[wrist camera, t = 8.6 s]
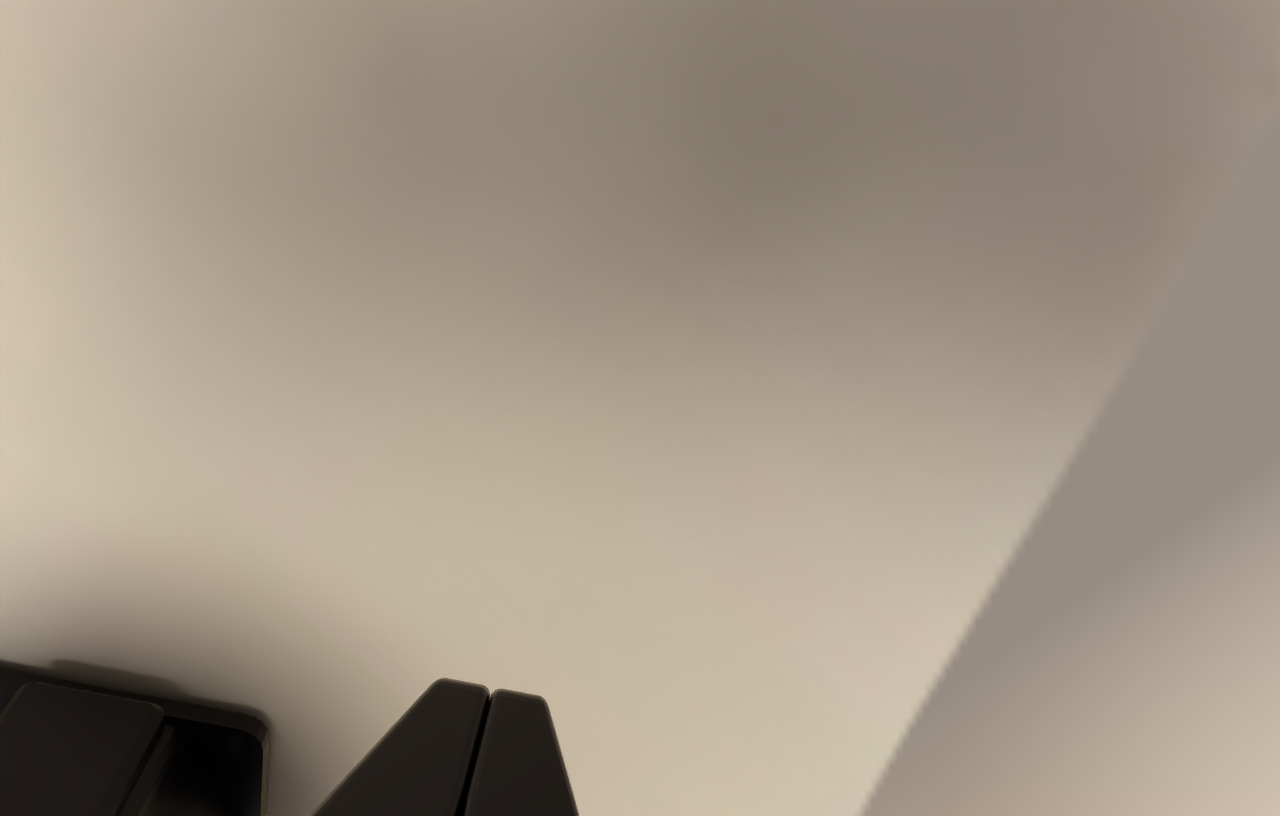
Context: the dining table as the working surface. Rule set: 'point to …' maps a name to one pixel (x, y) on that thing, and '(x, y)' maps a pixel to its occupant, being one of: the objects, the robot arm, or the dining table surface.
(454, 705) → the robot arm
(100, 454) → the dining table surface
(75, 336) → the dining table surface
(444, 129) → the dining table surface
